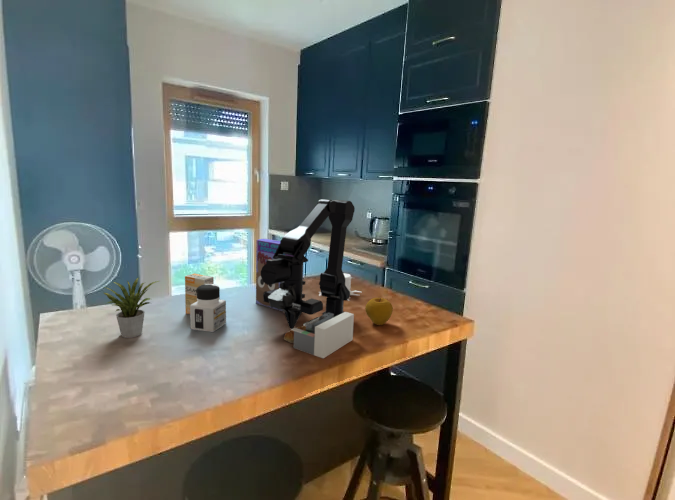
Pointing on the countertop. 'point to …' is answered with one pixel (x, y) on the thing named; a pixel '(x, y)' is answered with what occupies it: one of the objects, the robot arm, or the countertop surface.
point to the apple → (379, 310)
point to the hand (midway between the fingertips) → (291, 328)
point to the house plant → (130, 309)
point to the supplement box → (194, 288)
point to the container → (208, 309)
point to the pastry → (292, 334)
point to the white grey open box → (326, 336)
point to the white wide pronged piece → (347, 284)
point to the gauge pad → (317, 322)
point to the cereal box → (263, 253)
